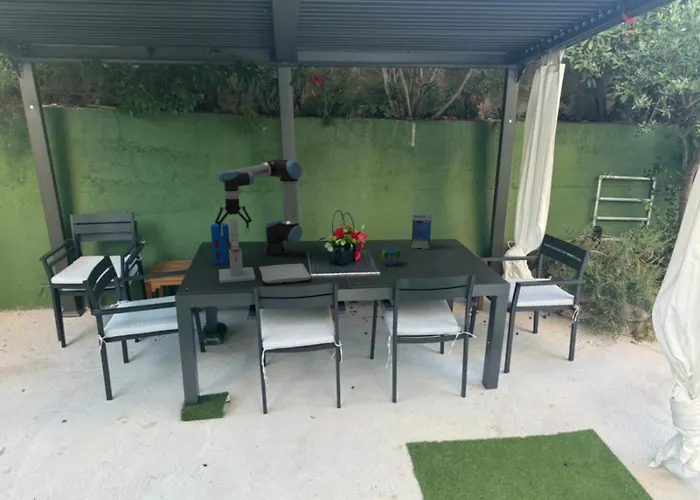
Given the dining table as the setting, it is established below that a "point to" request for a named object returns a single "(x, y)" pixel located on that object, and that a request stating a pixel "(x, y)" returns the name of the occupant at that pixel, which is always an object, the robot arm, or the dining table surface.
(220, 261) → the thermos
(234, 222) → the column
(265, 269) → the square plate
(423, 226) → the string lights box
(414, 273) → the dining table surface
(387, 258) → the snack cup
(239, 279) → the stand
